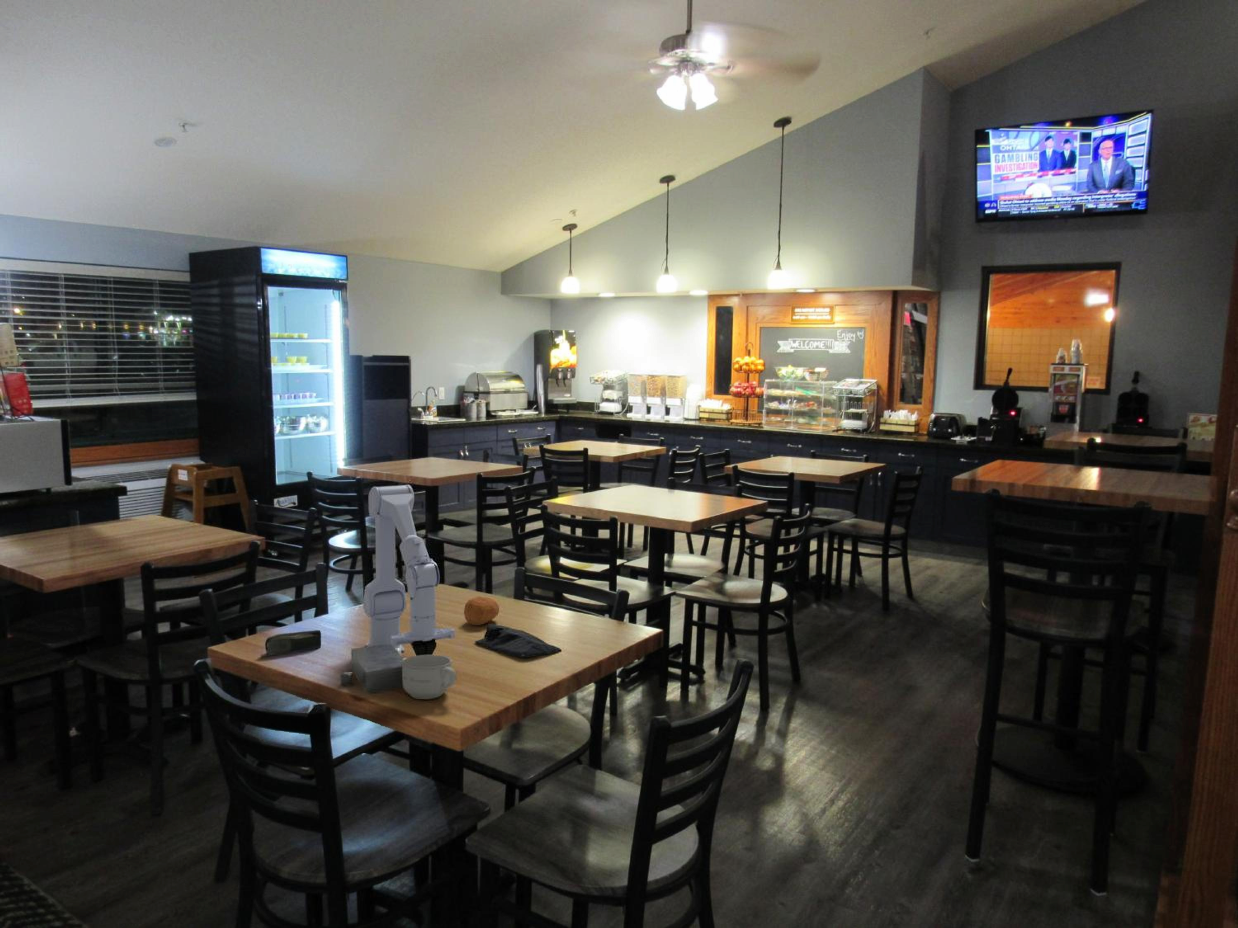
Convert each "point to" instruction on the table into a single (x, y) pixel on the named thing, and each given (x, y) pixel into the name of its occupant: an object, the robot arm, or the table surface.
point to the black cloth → (515, 642)
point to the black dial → (346, 678)
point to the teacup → (427, 675)
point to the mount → (377, 667)
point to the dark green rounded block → (292, 642)
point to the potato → (480, 610)
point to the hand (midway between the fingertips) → (423, 671)
